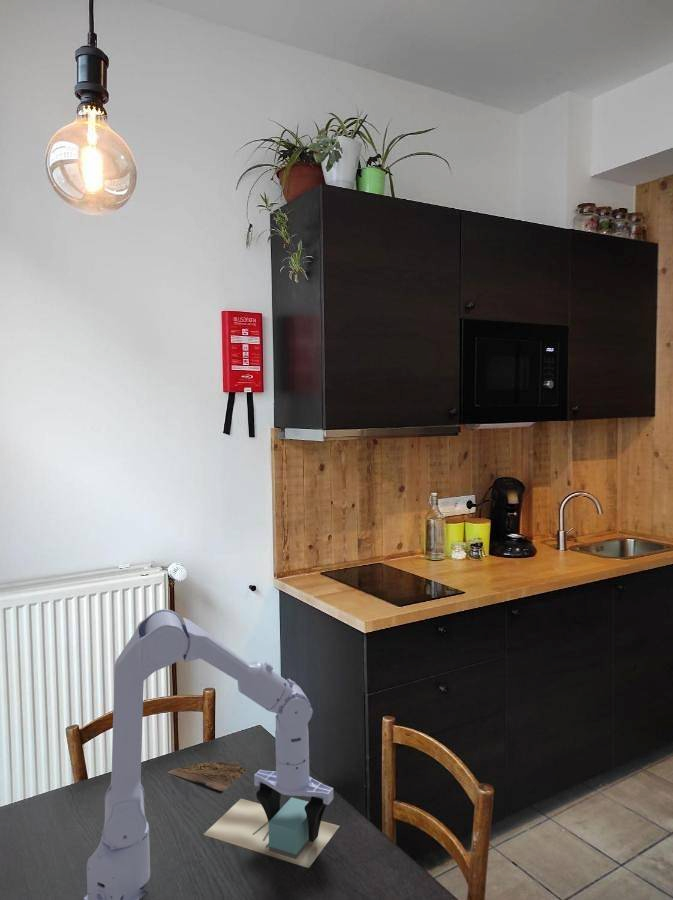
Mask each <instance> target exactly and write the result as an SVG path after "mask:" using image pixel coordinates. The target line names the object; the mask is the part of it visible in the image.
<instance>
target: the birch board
mask: <svg viewBox="0 0 673 900" xmlns="http://www.w3.org/2000/svg"><path fill="white" fill-rule="evenodd" d="M340 827H341V826H340V825H337V824H335V823H330V822H327V821H324V820H321V823H320V827H319V833H318V837H317V838H316V839H315V841H314V842H309V843H308V845H307V846H306V847H305V848H304V850H303V851H302V852H301V853H300V855H299V856H298V857H297V859H294V858H291V857H287V856H284V855H281V854H278V853H275V852H271V851H269V824H268V819H267V816H266V813H265V811H264V809H263V807H262V805H261V803H260V802H259V803H258V802H254V801H253V800H247V799H244V798H240V799H239V800H237V802H236V803H234V805H232V806H231V808H229V809H228V810H227V811H226V812H225V813H224V814H223V815H222V816H221V817H220V818H219V819H218V820H217V821H216V822H215V823H214V824H213V825H212V826H210V828H208V829H207V830H206V831H205V832H204V833H203V834H202V835H203V836H206V837H209V838H212V839H214V840H215V839H216V840H218V841H220V842H221V841H222V842H224V843H227V844H231V845H234V846H237V847H241V848H243V849H247V850H250V851H252V852H257V853H259V854H263V855H266V856H269V857H272V858H276V859H279V860H282V861H284V862H288V863H291V864H294V865H298V866H301V867H305V868H307V869H309V868H310V867H311V865H312V864H313V863H314V862H315V860H316V859H317V857H318V856H319V855H320V854H321V852H322V851H323V849H324V848H325V847H326V845H327V844H328V843H329V841H330V840H331V838H332V837H333V836H334V835H335V833H336V832H337V831H338V830H339V828H340Z"/></svg>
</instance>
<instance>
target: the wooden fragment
mask: <svg viewBox="0 0 673 900" xmlns="http://www.w3.org/2000/svg"><path fill="white" fill-rule="evenodd" d="M248 770H249V768H246V767H244V766H240V765H239V764H238V763H237V762H232V761H225V762H213V761H208V762H203V763H202V762H199V763H196V764H193V765H188V766H186V767H180V768H176V769H171V770H169V771H167V773H168V774H170V775H173V776H177V777H180V778H183V779H185V780H188V781H191V782H194V783H199V784H201V785H204V786H207V787H209V788H211V789H215V790H218V791H220V792H222V793H224V792H225V791H226V790H227V789H229V788H230V786H232V784H233V783H235V782H236V781H237V780H238V779H239V778H241V777H242V776H243V775H244V774H245V773H246V772H247V771H248Z"/></svg>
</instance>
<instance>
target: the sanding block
mask: <svg viewBox="0 0 673 900" xmlns="http://www.w3.org/2000/svg"><path fill="white" fill-rule="evenodd" d="M308 802H309V801H307V800H303V799H301V798H296V797H293V796H292V797H291V796H290V798H289V799H288V801H287V802H286V803H284V804H283V805H282V807H280V810H279V811H278V812H277V814H276V815H275V816H274V817H273V818H272V819H271V820H270V821H269V822H268V824H269V851H271V852H275V853H278V854H281V855H284V856H287V857H291V858H294V859H297V857H298V856H299V855H300V853H301V852H302V851H303V850H304V848H305V847H306V846H307V845H308V843H309V842H310V841H309V837H308V820H307V815H306V812H305V806H306V805H307V804H308Z"/></svg>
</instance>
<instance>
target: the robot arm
mask: <svg viewBox="0 0 673 900" xmlns="http://www.w3.org/2000/svg"><path fill="white" fill-rule="evenodd" d="M182 618H183V621H182ZM182 618H181V617H180V615H178V613H177V612H175V611H173V610H171V609H166V608H164V609H163V608H161V609H158V610H156V611H154V612H152V613H150V615H148V616H146V617H145V618H144V619H143V620H140V622H139V623H138V625H137V626H136V629H135V630H134V633H133V634H132V636H131V638H130V639H129V640H128V642H127V643H126V645H125V646H124V648H123V649H122V651H121V653H120V654H119V655H118V657H117V658H116V659H115V663H114V677H113V678H114V679H113V682H114V683H113V709H112V712H113V713H112V714H113V715H112V717H113V718H112V743H111V744H112V745H111V748H112V749H111V752H112V753H111V773H110V774H111V777H110V784H109V787H108V788H107V790H106V792H105V794H104V798H103V799H104V801H103V802H104V824H103V829H102V830H101V839H100V841H99V844H98V845H97V848H96V849H95V851H93V853H92V854H91V855H90V856H89V858H88V859H87V862H86V887H87V888H86V890H87V894H86V895H85V896H84V897H83V900H141V899H142V898H143V897H144V896H145V895H147V893H148V891H147V890H145V889H142V888H143V887H144V886H145V885H146V884H147V883H148V882H149V880H150V878H151V856H150V853H151V852H150V825H149V822H148V821H147V818H146V813H145V789H144V787H143V785H142V783H141V782H142V753H143V751H142V746H143V744H142V743H143V719H144V718H143V716H144V715H143V714H144V713H143V711H144V682H145V680H147V679H148V678H149V677H150V676H151V675H153V673H155V672H157V671H159V670H161V669H164V668H167V667H169V666H171V665H173V664H176V663H177V662H178V661H180V660H181V659H183V662H184V663H188V662H192V661H195V660H198V659H200V660H202V661H204V662H205V663H207V664H209V665H211V666H212V667H214V668H216V669H218V670H219V671H221V672H222V673H224V674H225V675H227V676H229V677H230V678H232V679H234V680H235V681H237V688H238V692H240V693H241V694H242V695H244V696H245V697H246V698H248V699H250V700H251V701H253V702H254V703H256V704H257V705H259V706H260V707H261V708H263V709H265V711H268V712H271V713H275V714H276V715H275V731H274V732H275V733H274V735H275V738H274V739H275V740H274V741H275V742H274V743H275V771H274V770H273V771H272V770H264V769H259V770H258V771H257V772H256V773H254V775H253V776H254V777H253V778H254V779H253V781H254V783H253V784H254V785H253V786H255V787H259V788H258V789H259V790H258V791H257V792H255V793H256V795H255V797H256V800H257V801H258V802H259V804H261V805H262V807H263V809H264V811H265V813H266V816H267V819H268V822H269V821H270V820H271V819H272V818H273V817H274V816H275V815H276V814H277V812H278V811H279V810H280V809H281V806H280V805H281V804H280V803H281V795H284V796H290V797H291V796H292V797H307V798H310V800H309V801H307V802H308V804H307V805H306V806H305V812H306V815H307V820H308V837H309V841H310V842H314V841H315V839H316V838H317V837H318V833H319V827H320V823H321V821H322V818H323V816H324V813H325V811H326V808H327V806H329V805H330V804H331V802H332V801H333V800H334V787H331V786H328V785H326V784H324V783H322V782H320V781H318V780H316V779H314V778H313V777H312V776H310V743H309V742H310V739H309V722H310V720H311V719H312V716H313V713H314V712H313V711H314V709H313V708H312V705H311V703H310V702H311V701H310V700H309V698H308V697H307V696H306V694H305V693H304V691H303V690H302V688H301V687H300V685H298V684H297V682H296V681H293V680H291V679H290V678H287V679H285V678H283V676H281V675H280V674H278V673H276V671H274V667H273V666H272V664H270V663H269V662H268V661H265V663H262V662H261V661H259V660H257V661H255V660H254V661H249V662H247V661H246V660H244V659H243V658H242V657H241V656H239V655H238V654H236V653H235V652H233V650H231V649H230V648H229V647H227V646H226V645H225V644H223V643H222V642H220V641H219V640H218V639H217V638H215V637H214V636H212V635H211V634H210V633H208V632H207V631H205V630H204V629H203V628H202V627H200V626H198V625H197V624H196V623H194V622H193V621H191V620H190V619H189V618H186V617H182ZM183 622H184V623H183Z"/></svg>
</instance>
